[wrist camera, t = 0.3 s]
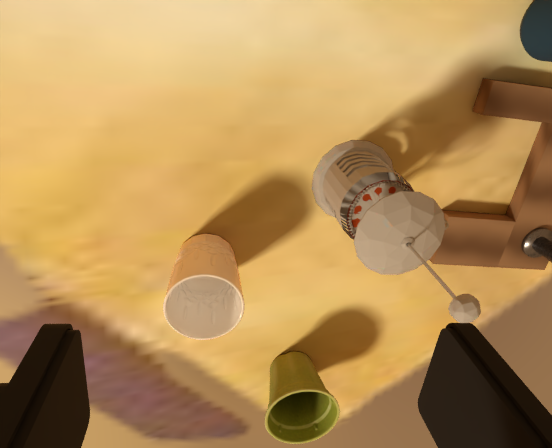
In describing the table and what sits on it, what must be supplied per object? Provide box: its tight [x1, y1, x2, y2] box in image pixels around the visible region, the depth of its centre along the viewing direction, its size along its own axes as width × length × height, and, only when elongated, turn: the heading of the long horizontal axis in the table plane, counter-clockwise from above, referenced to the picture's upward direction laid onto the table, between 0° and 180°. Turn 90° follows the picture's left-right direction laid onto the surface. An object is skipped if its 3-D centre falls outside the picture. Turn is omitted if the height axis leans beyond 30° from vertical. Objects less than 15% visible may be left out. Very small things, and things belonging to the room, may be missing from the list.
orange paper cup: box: [163, 233, 244, 340], centre depth 46 cm, size 8×8×10 cm
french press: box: [312, 140, 481, 323], centre depth 37 cm, size 10×12×25 cm
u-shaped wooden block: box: [429, 79, 552, 270], centre depth 50 cm, size 22×16×2 cm
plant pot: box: [265, 351, 340, 444], centre depth 55 cm, size 9×9×9 cm
